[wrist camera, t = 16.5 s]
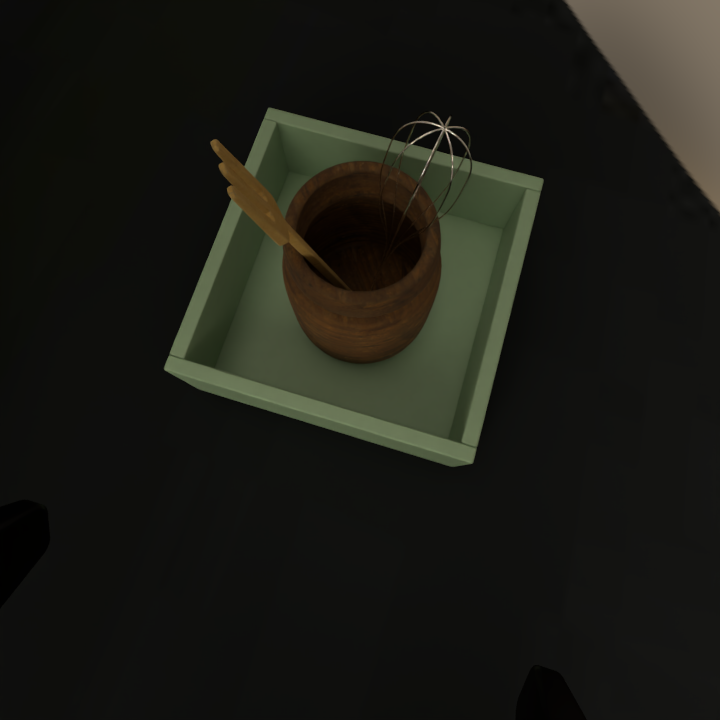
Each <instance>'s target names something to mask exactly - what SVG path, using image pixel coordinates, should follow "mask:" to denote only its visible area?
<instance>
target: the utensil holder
mask: <svg viewBox="0 0 720 720" xmlns="http://www.w3.org/2000/svg"><path fill="white" fill-rule="evenodd" d="M425 113H431V114H433V115H434V116H435V117H436V118H437V119H438V120H439V122H440V123H441V125H442V126H440V125H438V124H435V123H432V122H427V121H417V120H418V119H419V118H420V116H422V115H423V114H425ZM451 117H452V115H450V116H449V118H448V120H447V122H446V124H445V126H444V125H443V123H442V121H441V120H440V118H439V117H438V116H437V115H436V114H435V113H433V112H431V111H425V112H423V113H421V114H420V115H419V116H418V117H417V119H416V121H415V122H411V123H408V124H406V125H404V126H402V127H401V128H400V129H398V130H397V131H396V133H395V134H394V135H393V137H392V139H391V142H390V144H389V147H388V149H387V152H386V154H385V157H384V160H383V163H378V162H372V161H352V162H345V163H341V164H337V165H334V166H332V167H329V168H327V169H325V170H323V171H321V172H319V173H318V174H316V175H315V176H313V177H312V178H311V179H309V180H308V181H307V182H306V183H305V184H304V185H303V186H302V187H301V188H300V189H299V190H298V192H297V193H296V195H295V196H294V198H293V199H292V201H291V203H290V205H289V207H288V210H287V213H286V216H285V219H284V217H283V215H282V213H281V211H280V209H279V207H278V205H277V204H276V202H275V200H274V198H273V196H272V195H271V194H270V193H269V192H268V190H267V189H266V188H265V187H264V186H263V185H262V184H261V183H260V182H259V181H258V180H257V179H256V178H255V177H254V176H253V175H252V174H251V173H250V172H249V171H248V170H247V169H246V168H245V167H244V166H243V165H242V164H241V163H240V162H239V161H238V160H237V159H236V158H235V157H234V156H233V155H232V154H231V153H230V152H229V151H228V150H227V149H226V148H225V147H224V146H223V145H222V144H221V143H220V142H219V141H218V140H216V139H214V140H212V141H211V146H212V148H213V150H214V152H215V153H216V154H217V155H218V156H219V157H220V158H221V159H222V160H223V162H222V163H220V164H219V169H220V171H221V173H222V174H223V176H224V177H225V178H226V179H227V180H228V181H229V182H230V183H231V184H232V185H233V186H229V187H228V188H227V191H228V194H229V196H230V197H231V199H232V200H233V201H234V202H235V203H236V204H237V205H238V206H239V207H240V208H241V209H242V210H243V211H244V212H245V213H246V214H247V215H248V216H249V217H250V218H251V219H252V220H253V221H254V222H255V223H256V224H257V225H258V226H259V227H260V228H261V229H262V230H263V231H264V232H265V233H266V234H267V235H268V236H269V237H270V238H271V239H272V240H273V241H274V242H276V243H277V244H278V245H279V246H282V245H283V259H282V272H283V279H284V284H285V288H286V292H287V295H288V298H289V301H290V303H291V306H292V308H293V311H294V313H295V316H296V318H297V320H298V322H299V324H300V326H301V328H302V330H303V331H304V333H305V334H306V336H307V337H308V338H309V339H310V340H311V342H312V343H313V344H314V345H315V346H317V347H318V348H319V349H320V350H321V351H323V352H324V353H326V354H327V355H329V356H331V357H333V358H335V359H338V360H341V361H344V362H349V363H355V364H368V363H375V362H380V361H383V360H386V359H389V358H391V357H393V356H395V355H396V354H398V353H400V352H401V351H403V350H404V349H405V348H406V347H407V346H408V345H410V344H411V343H412V342H413V340H414V339H415V338H416V337H417V336H418V334H419V333H420V331H421V330H422V328H423V326H424V324H425V322H426V320H427V318H428V315H429V313H430V311H431V308H432V306H433V303H434V300H435V297H436V294H437V291H438V288H439V283H440V278H441V267H442V263H441V252H440V250H441V231H440V223H439V219H441V218H442V217H443V216H445V215H446V214H447V213H448V212H449V211H450V210H451V209H452V207H453V206H454V205H455V203H456V202H457V200H458V199H459V197H460V195H461V193H462V191H463V189H464V188H465V186H466V184H467V182H468V180H469V177H470V175H471V172H472V159H471V155H470V152H469V148H470V144H471V136H470V133H469V132H468V130H467V129H465V128H463V127H459V126H450V127H447V126H448V124H449V122H450V119H451ZM416 123H427V124H432V125H435V126H438V127H440V128H439V129H436V130H433V131H430V132H428V133H426V134H424V135H422V136H420V137H419V138H417V139H415V140H414V141H413V142H411V143H410V144H409V145H408V146H407V143H408V141H409V138H410V136H411V134H412V131H413V129H414V126H415V124H416ZM411 124H414V125H413V127H412V129H411V132H410V134H409V137H408V139H407V142H406V144H405V147H404V150H403V151H402V152H401V153H400V154H399V155H398V156H397V158H396V159H395V161H394V162H393V164H392V166H389V165H386V164H384V162H385V159H386V156H387V154H388V151H389V149H390V146H391V144H392V141H393V139H394V137H395V136H396V134H397V133H398V132H399V131H400V130H401V129H403V128H404V127H406V126H408V125H411ZM444 128H445V129H444ZM450 128H459V129H463V130H465V131H466V132H467V133H468V135H469V145H468V148H467V146H466V144H465V143H464V142H463V141H462V140H461V138H459V137H458V136H457V135H456V134H455V133H453V132H452V131H450V130H448V129H450ZM440 130H442V132H441V134H440V136H439V138H438V140H437V142H436V144H435V146H434V148H433V150H432V152H431V155H430V157H429V159H428V161H427V163H426V165H425V167H424V169H423V172H422V174H421V176H420V178H419V180H418V182H417V181H416V180H414V179H413V178H412V177H411V176H409V175H408V174H406V173H404V172H403V171H401V170H400V166H401V162H402V158H403V155H404V151H405V150H406V149H407V148H408V147H409V146H411V145H412V144H413V143H414V142H416V141H417V140H419V139H421V138H422V137H424V136H426V135H428V134H431V133H433V132H436V131H440ZM447 131H448V132H450V133H451V134H453V135H454V136H455V137H456V138H458V139H459V140H460V141H461V142H462V144H463V145H464V146H465V148H466V150H467V151H466V153H465V155H464V157H463V159H462V161H461V163H460V165H459V167H458V169H457V171H456V172H455V174H454V176H453V152H452V147H451V143H450V139H449V136H448V133H447ZM444 133H445V134H446V136H447V139H448V142H449V146H450V152H451V162H452V169H451V179H450V182H449V184H448V185H447V187H446V188H445V189H444V190H443V192H442V193H441V194H440V195H439V196H438V198H437V199H436V200H435V201H434V202H432V200H431V198H430V197H429V195H428V194H427V192H426V191H425V190H424V188H423V187H422V186H421V185H420V184H421V182H422V180H423V178H424V176H425V174H426V172H427V169H428V167H429V165H430V163H431V161H432V159H433V157H434V154H435V152H436V150H437V148H438V146H439V143H440V141H441V139H442V137H443V135H444ZM406 146H407V147H406ZM434 150H435V151H434ZM467 152H468V154H469V158H470V173H469V175H468V178H467V180H466V182H465V184H464V186H463V188H462V190H461V192H460V194H459V195H458V197H457V199H456V200H455V202H454V203H453V205H452V206H451V207H450V209H449V210H448V211H447V212H446V213H445V214H443V215H442V216H441V217H440V218H438V213H439V211H440V210H441V208H442V206H443V204H444V202H445V200H446V198H447V195H448V193H449V191H450V188H451V184H452V181H453V179H454V177H455V176H456V174H457V172H458V170H459V168H460V166H461V164H462V163H463V161H464V159H465V156H466V154H467ZM401 154H402V156H401V159H400V164H399V168H398V169H397V168H395V167H393V166H394V164H395V162H396V161H397V159H398V158H399V157H400V155H401ZM429 161H430V162H429ZM428 163H429V164H428ZM427 165H428V166H427ZM426 167H427V168H426ZM425 169H426V170H425ZM423 174H424V175H423ZM422 176H423V177H422ZM421 178H422V179H421ZM420 180H421V181H420ZM419 182H420V183H419ZM448 186H449V188H448ZM447 188H448V191H447V193H446V196H445V198H444V200H443V202H442V204H441V206H440V208H439V210H438V212H437V211H436V208H435V206H434V203H435V202H436V201H437V200H438V199H439V197H440V196H441V195H442V194H443V193H444V192H445V190H446V189H447Z"/></svg>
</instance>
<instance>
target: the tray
mask: <svg viewBox="0 0 720 720" xmlns="http://www.w3.org/2000/svg"><path fill="white" fill-rule="evenodd" d="M390 142H391V139H388V138H384V137H380V136H377V135H373V134H369V133H365V132H361V131H357V130H353V129H350V128H346V127H342V126H338V125H334V124H330V123H327V122H323V121H319V120H315V119H311V118H307V117H304V116H300V115H296V114H292V113H288V112H284V111H281V110H277V109H273V108H268V110H267V113H266V115H265V118H264V120H263V122H262V125H261V127H260V130H259V132H258V134H257V137H256V139H255V142H254V144H253V147H252V149H251V152H250V154H249V157H248V159H247V162H246V164H245V168H246V169H247V170H248V171H249V172H250V173H251V174H252V175H253V176H254V177H255V178H256V179H257V180H258V181H259V182H260V183H261V184H262V185H263V186H264V187H265V188H266V189H267V190H268V192H269V193H270V194H271V195H272V196H273V198H274V200H275V202H276V204H277V205H278V207H279V209H280V211H281V213H282V215H283V217H284V219H285V216H286V213H287V210H288V207H289V205H290V203H291V201H292V199H293V198H294V196H295V195H296V193H297V192H298V190H299V189H300V188H301V187H302V186H303V185H304V184H305V183H306V182H307V181H308V180H309V179H311V178H312V177H313V176H315V175H316V174H318V173H319V172H321V171H323V170H325V169H327V168H329V167H332V166H334V165H337V164H341V163H345V162H352V161H372V162H378V163H383V160H384V157H385V154H386V152H387V149H388V147H389V144H390ZM405 144H406V143H403V142H400V141H396V140H393V141H392V144H391V146H390V149H389V151H388V154H387V156H386V159H385V162H384V164H386V165H389V166H392V164H393V162H394V161H395V159H396V158H397V156H398V155H399V154H400V153H401V152H402V151H403V150H404V147H405ZM408 145H409V144H407V146H408ZM407 146H406V147H407ZM431 152H432V150H430V149H426V148H423V147H419V146H415V145H411V146H409V147H408V148H407V149H406V150H405V151H404V155H403V158H402V162H401V166H400V170H401V171H403V172H404V173H406V174H408V175H409V176H411V177H412V178H413V179H414V180H416V181H417V182H418V180H419V178H420V176H421V174H422V172H423V169H424V167H425V165H426V163H427V161H428V159H429V157H430V155H431ZM401 156H402V154H401V155H400V157H399V158H398V159H397V161H396V162H395V164H394V166H393V167H395V168H397V169H398V168H399V164H400V159H401ZM462 159H463V158H461V157H457V156H453V176H454V174H455V172H456V171H457V169H458V167H459V165H460V163H461V161H462ZM429 162H430V161H429ZM428 164H429V163H428ZM427 166H428V165H427ZM426 168H427V167H426ZM451 169H452V162H451V155H449V154H446V153H442V152H438V151H436V152H435V154H434V157H433V159H432V161H431V163H430V165H429V167H428V169H427V172H426V174H425V176H424V178H423V180H422V182H421V184H420V185H421V186H422V187H423V188H424V190H425V191H426V192H427V194H428V195H429V197H430V198H431V200H432V202H434V201H435V200H436V199H437V198H438V196H439V195H440V194H441V193H442V192H443V190H444V189H445V188H446V187H447V185H448V184H449V182H450V179H451ZM425 170H426V169H425ZM469 173H470V160H469V159H464V161H463V163H462V164H461V166H460V168H459V170H458V172H457V174H456V176H455V177H454V179H453V181H452V184H451V188H450V191H449V193H448V195H447V198H446V200H445V202H444V204H443V206H442V208H441V210H440V211H439V213H438V218H440V217H441V216H442V215H443V214H445V213H446V212H447V211H448V210H449V209H450V207H451V206H452V205H453V203H454V202H455V200H456V199H457V197H458V195H459V194H460V192H461V190H462V188H463V186H464V184H465V182H466V180H467V178H468V175H469ZM423 175H424V174H423ZM422 177H423V176H422ZM421 179H422V178H421ZM420 181H421V180H420ZM419 183H420V182H419ZM542 185H543V179H542V178H538V177H534V176H530V175H526V174H522V173H519V172H515V171H511V170H507V169H503V168H499V167H496V166H492V165H488V164H484V163H480V162H476V161H472V172H471V175H470V177H469V180H468V182H467V184H466V186H465V188H464V189H463V191H462V193H461V195H460V197H459V199H458V200H457V202H456V203H455V205H454V206H453V207H452V209H451V210H450V211H449V212H448V213H447V214H446V215H445V216H443V217H442V218H441V219H439V223H440V231H441V250H440V252H441V263H442V267H441V278H440V283H439V288H438V291H437V294H436V297H435V300H434V303H433V306H432V308H431V311H430V313H429V315H428V318H427V320H426V322H425V324H424V326H423V328H422V330H421V331H420V333H419V334H418V336H417V337H416V338H415V339H414V340H413V342H412V343H411V344H410V345H408V346H407V347H406V348H405V349H404V350H403V351H401V352H400V353H398V354H396V355H395V356H393V357H391V358H389V359H386V360H383V361H380V362H375V363H368V364H355V363H349V362H344V361H341V360H338V359H335V358H333V357H331V356H329V355H327V354H326V353H324V352H323V351H321V350H320V349H319V348H318V347H317V346H315V345H314V344H313V343H312V342H311V340H310V339H309V338H308V337H307V336H306V334H305V333H304V331H303V330H302V328H301V326H300V324H299V322H298V320H297V318H296V316H295V313H294V311H293V308H292V306H291V303H290V301H289V298H288V295H287V292H286V288H285V284H284V279H283V272H282V259H283V245H282V246H279V245H278V244H277V243H276V242H274V241H273V240H272V239H271V238H270V237H269V236H268V235H267V234H266V233H265V232H264V231H263V230H262V229H261V228H260V227H259V226H258V225H257V224H256V223H255V222H254V221H253V220H252V219H251V218H250V217H249V216H248V215H247V214H246V213H245V212H244V211H243V210H242V209H241V208H240V207H239V206H238V205H237V204H236V203H235V202H234V201H233V200H232V199H231V202H230V204H229V207H228V209H227V212H226V214H225V217H224V219H223V222H222V224H221V227H220V229H219V232H218V234H217V237H216V239H215V242H214V244H213V247H212V249H211V252H210V254H209V257H208V259H207V262H206V264H205V267H204V269H203V272H202V274H201V277H200V279H199V281H198V284H197V286H196V289H195V291H194V294H193V296H192V299H191V301H190V304H189V306H188V309H187V311H186V314H185V316H184V319H183V321H182V324H181V326H180V329H179V331H178V334H177V336H176V339H175V341H174V344H173V346H172V349H171V351H170V355H169V357H168V359H167V362H166V364H165V367H164V370H165V371H167V372H169V373H171V374H173V375H174V376H176V377H178V378H180V379H181V380H183V381H185V382H187V383H189V384H190V385H192V386H194V387H196V388H197V389H200V390H203V391H206V392H209V393H213V394H216V395H219V396H222V397H226V398H229V399H232V400H235V401H239V402H242V403H245V404H249V405H252V406H255V407H258V408H262V409H265V410H268V411H271V412H275V413H278V414H281V415H284V416H288V417H291V418H294V419H297V420H301V421H304V422H307V423H310V424H314V425H317V426H320V427H324V428H327V429H330V430H333V431H337V432H340V433H343V434H346V435H350V436H353V437H356V438H359V439H363V440H366V441H369V442H372V443H376V444H379V445H382V446H385V447H389V448H392V449H395V450H399V451H402V452H405V453H408V454H412V455H415V456H418V457H421V458H425V459H428V460H431V461H434V462H438V463H441V464H444V465H447V466H451V467H455V466H461V465H467V464H472V463H473V462H474V458H475V454H476V448H475V447H477V446H478V442H479V438H480V434H481V430H482V426H483V422H484V418H485V414H486V410H487V406H488V402H489V398H490V394H491V390H492V386H493V382H494V378H495V374H496V370H497V366H498V362H499V357H500V353H501V349H502V345H503V341H504V337H505V333H506V329H507V325H508V321H509V317H510V313H511V309H512V305H513V301H514V297H515V293H516V289H517V285H518V281H519V277H520V273H521V269H522V265H523V261H524V257H525V253H526V249H527V245H528V241H529V237H530V233H531V229H532V225H533V221H534V217H535V213H536V209H537V205H538V201H539V197H540V192H541V189H542ZM448 188H449V186H448ZM448 188H447V189H446V190H445V192H444V193H443V194H442V195H441V196H440V197H439V199H438V200H437V201H436V202H435V203H434V206H435V208H436V211H437V212H438V210H439V208H440V206H441V204H442V202H443V200H444V198H445V196H446V193H447V191H448Z"/></svg>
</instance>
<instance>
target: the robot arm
mask: <svg viewBox="0 0 720 720" xmlns="http://www.w3.org/2000/svg"><path fill="white" fill-rule="evenodd" d="M49 541H50V532H49V521H48V511H47V508H46V507H45V506H44V505H42V504H39V503H36V502H33V501H29V500H21V501H17V502H14V503H11V504H8V505H5V506H2V507H0V608H1V607H2V605H3V604H4V603H5V602H6V600H7V599H8V598H9V597H10V595H11V594H12V593H13V592H14V590H15V589H16V588H17V587H18V585H19V584H20V583H21V582H22V580H23V579H24V578H25V577H26V575H27V574H28V573H29V572H30V570H31V569H32V568H33V567H34V565H35V564H36V563H37V562H38V560H39V559H40V558H41V557H42V555H43V554H44V553H45V551H46V549H47V547H48V545H49ZM516 720H586V718H585V716H584V714H583V712H582V711H581V709H580V707H579V705H578V703H577V702H576V700H575V698H574V696H573V694H572V693H571V691H570V689H569V687H568V685H567V684H566V682H565V680H564V678H563V677H562V676H561V674H560V673H558V672H557V671H554V670H551V669H548V668H545V667H542V666H539V665H534V666H533V667H532V668H531V670H530V672H529V674H528V676H527V679H526V681H525V683H524V686H523V688H522V691H521V693H520V695H519V698H518V702H517V707H516Z"/></svg>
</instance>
